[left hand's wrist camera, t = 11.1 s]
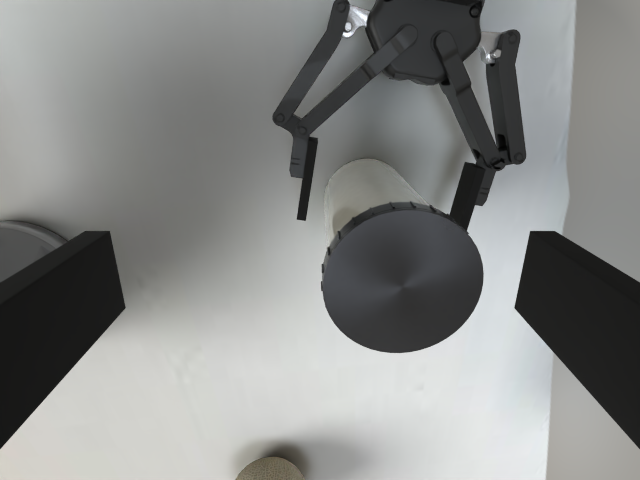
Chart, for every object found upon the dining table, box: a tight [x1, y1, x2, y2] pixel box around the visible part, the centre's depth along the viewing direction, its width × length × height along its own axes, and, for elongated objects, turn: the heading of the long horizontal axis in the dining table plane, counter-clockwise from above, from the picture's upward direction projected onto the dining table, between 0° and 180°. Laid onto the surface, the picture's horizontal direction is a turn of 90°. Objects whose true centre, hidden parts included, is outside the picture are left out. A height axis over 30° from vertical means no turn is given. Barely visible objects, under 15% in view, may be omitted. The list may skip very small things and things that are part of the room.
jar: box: [324, 159, 430, 247], centre depth 31 cm, size 8×8×18 cm
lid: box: [321, 201, 483, 353], centre depth 23 cm, size 9×9×2 cm
